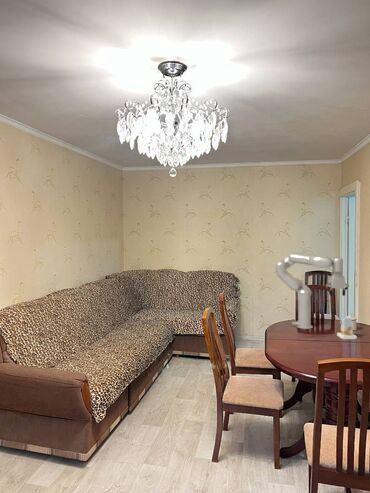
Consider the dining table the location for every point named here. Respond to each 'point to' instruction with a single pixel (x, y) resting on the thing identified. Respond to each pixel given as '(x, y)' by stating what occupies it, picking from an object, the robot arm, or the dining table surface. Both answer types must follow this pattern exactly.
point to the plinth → (347, 336)
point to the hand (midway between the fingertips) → (337, 295)
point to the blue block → (346, 322)
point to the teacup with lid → (352, 321)
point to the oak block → (346, 330)
